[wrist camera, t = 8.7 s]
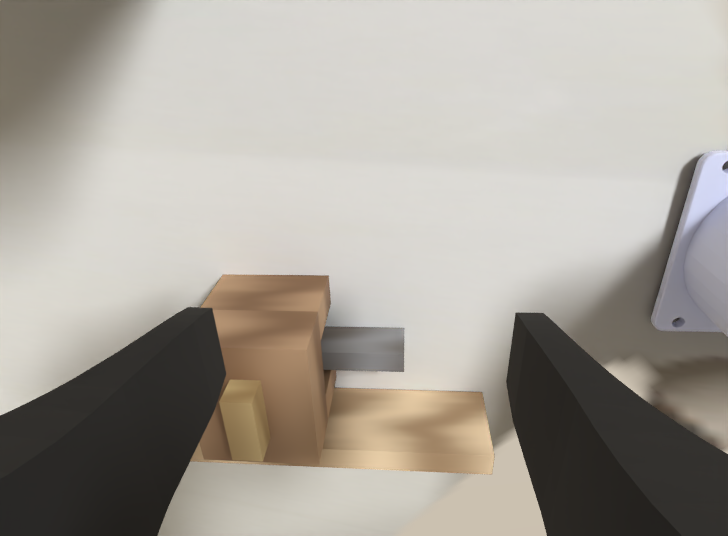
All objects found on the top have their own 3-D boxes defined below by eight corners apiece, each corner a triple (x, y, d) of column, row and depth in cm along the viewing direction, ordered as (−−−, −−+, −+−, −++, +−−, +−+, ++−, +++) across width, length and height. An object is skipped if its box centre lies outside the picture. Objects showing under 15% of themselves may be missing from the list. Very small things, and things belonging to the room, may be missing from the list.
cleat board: (488, 329, 23) (503, 388, 19) (480, 409, 25) (491, 474, 22) (126, 322, 24) (79, 375, 21) (150, 398, 27) (112, 458, 23)
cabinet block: (328, 275, 22) (300, 371, 16) (336, 376, 25) (314, 489, 19) (223, 274, 23) (158, 367, 17) (242, 373, 26) (193, 483, 20)
